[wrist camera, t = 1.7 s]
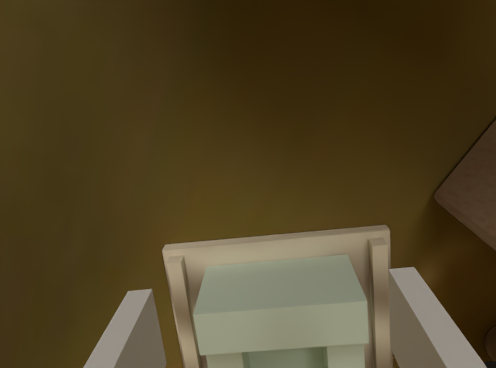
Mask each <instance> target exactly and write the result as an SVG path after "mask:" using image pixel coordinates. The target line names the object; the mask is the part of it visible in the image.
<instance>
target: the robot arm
mask: <svg viewBox="0 0 496 368" xmlns="http://www.w3.org/2000/svg"><path fill="white" fill-rule="evenodd" d="M388 276H389V315H390V347H391V349H392V352H393V354H394V356H395V358H396V361H397V363H398V365H399V368H496V361H492V362H483V361H482V360H481V359H480V357H479V356H478V355H477V353H476V352H475V350H474V349H473V348H472V346H471V345H470V343H469V342H468V341H467V339H466V338H465V337H464V335H463V334H462V332H461V331H460V330H459V328H458V327H457V326H456V324H455V323H454V321H453V320H452V319H451V317H450V316H449V314H448V313H447V312H446V310H445V309H444V308H443V306H442V305H441V303H440V302H439V301H438V299H437V298H436V296H435V295H434V294H433V292H432V291H431V290H430V288H429V287H428V285H427V284H426V283H425V281H424V280H423V278H422V277H421V276H420V274H419V273H418V272H417V270H416V269H415V267H408V268H396V269H388ZM166 363H167V362H166V357H165V352H164V347H163V342H162V337H161V332H160V327H159V322H158V317H157V312H156V307H155V302H154V296H153V291H152V289H147V290H135V291H128V292H127V294H126V296H125V297H124V299H123V301H122V303H121V304H120V306H119V308H118V309H117V311H116V313H115V315H114V316H113V318H112V320H111V321H110V323H109V325H108V326H107V328H106V330H105V332H104V333H103V335H102V337H101V338H100V340H99V342H98V344H97V345H96V347H95V349H94V350H93V352H92V354H91V355H90V357H89V359H88V361H87V362H86V364H85V366H84V367H83V368H165V367H166Z"/></svg>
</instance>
